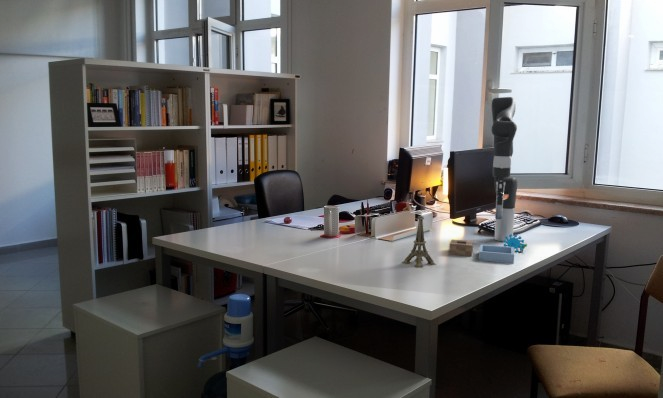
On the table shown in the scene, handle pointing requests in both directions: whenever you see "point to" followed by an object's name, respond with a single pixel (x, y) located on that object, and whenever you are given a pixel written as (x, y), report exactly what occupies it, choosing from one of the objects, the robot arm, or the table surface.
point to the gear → (515, 242)
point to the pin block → (461, 247)
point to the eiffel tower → (419, 247)
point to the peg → (499, 209)
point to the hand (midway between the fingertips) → (499, 204)
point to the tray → (496, 253)
